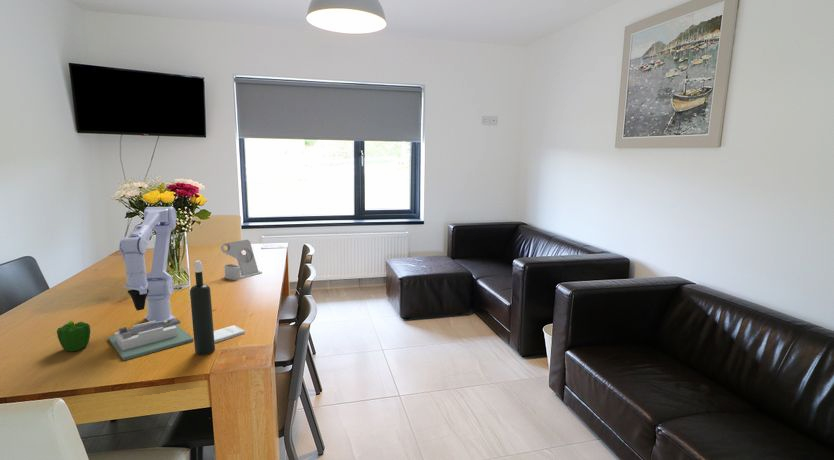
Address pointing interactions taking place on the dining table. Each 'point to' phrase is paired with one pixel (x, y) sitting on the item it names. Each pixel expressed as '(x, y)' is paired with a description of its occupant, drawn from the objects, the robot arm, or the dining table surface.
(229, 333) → the external hard drive
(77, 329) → the bell pepper
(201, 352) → the wine bottle
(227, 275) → the phone holder
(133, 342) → the green base plate
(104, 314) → the dining table surface
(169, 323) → the strap
